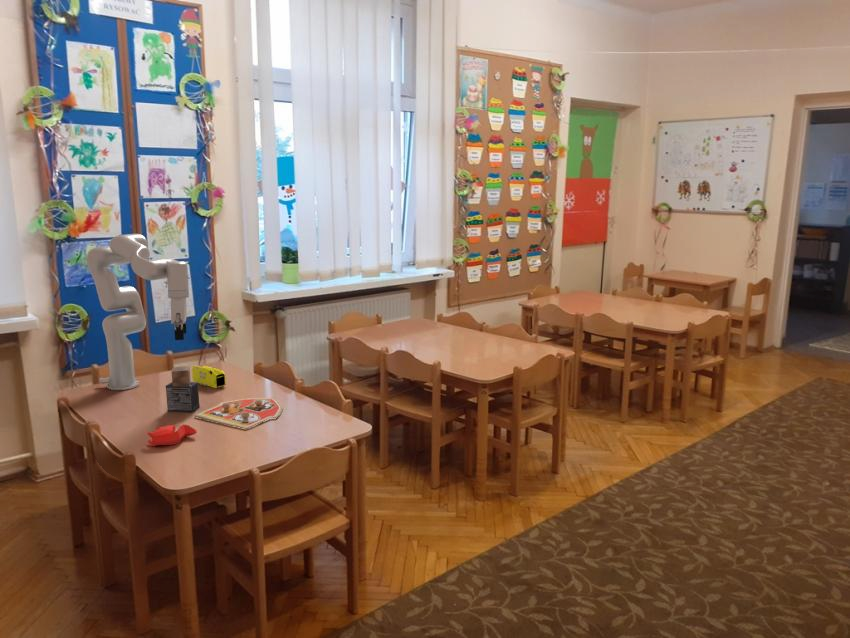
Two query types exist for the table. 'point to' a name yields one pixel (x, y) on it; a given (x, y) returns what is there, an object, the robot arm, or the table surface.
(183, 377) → the walnut cube
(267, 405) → the knob puzzle
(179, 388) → the small box
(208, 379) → the yellow toy chassis
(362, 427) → the table surface
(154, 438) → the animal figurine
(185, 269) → the robot arm
